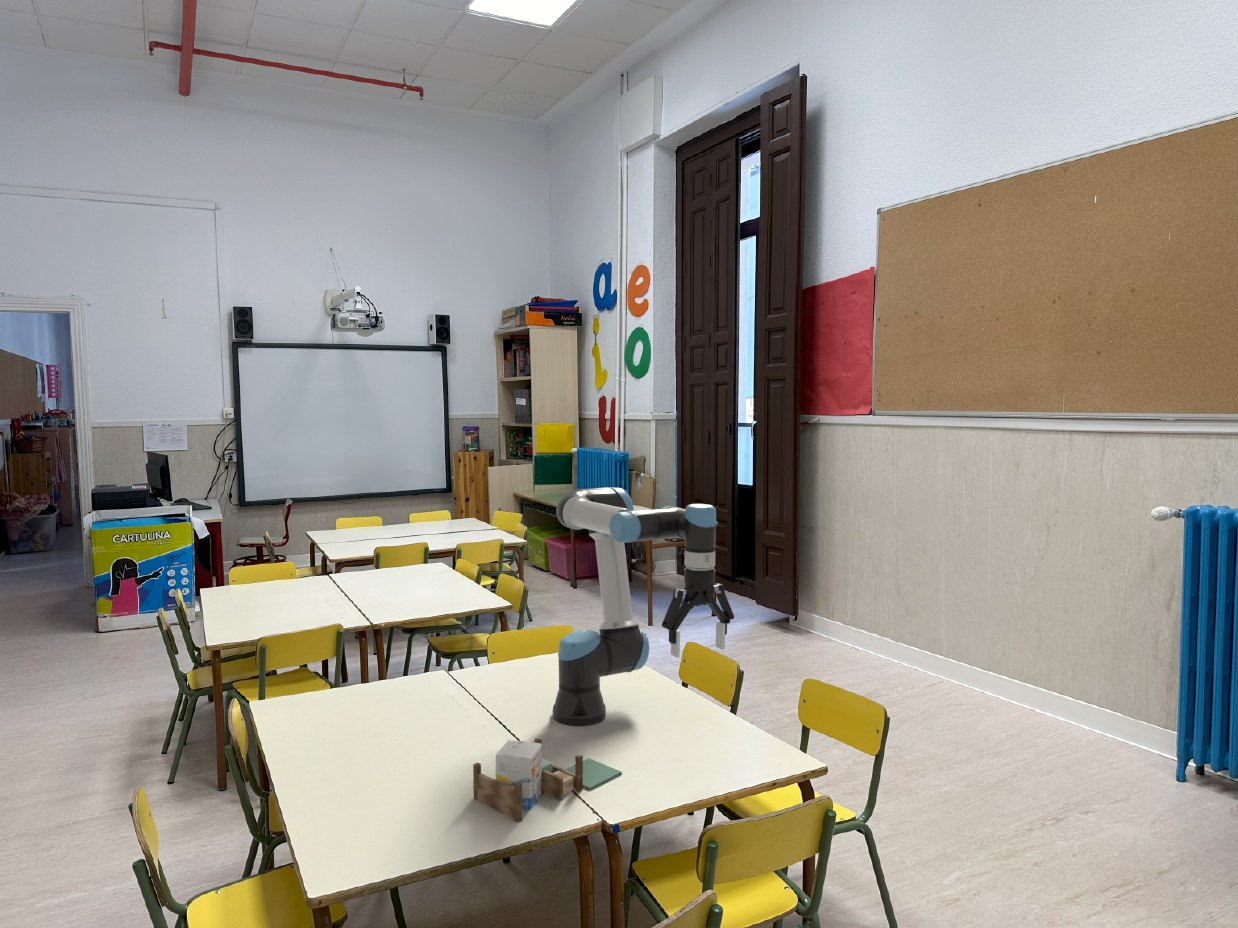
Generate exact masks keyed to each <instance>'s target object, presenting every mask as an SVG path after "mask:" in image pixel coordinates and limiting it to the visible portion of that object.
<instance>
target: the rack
mask: <svg viewBox="0 0 1238 928" xmlns="http://www.w3.org/2000/svg"><path fill="white" fill-rule="evenodd" d="M542 742H543V740H542V738H540V737H536V738H534V743H541V744H542V745H543V743H542ZM574 757H575V758H574V760H575V761H574V762H575V763H574V765H575V774H574V773H571V772H569V771H567V770H565V769H566V768H562V767H559V766H558V765H555V764H554V763H552V772H553V773H554V772H556V771H561V772H563V773H565V774H568V775H570V776H572V777H574V790H575V791H578V792H581V791H583V789H584V788H583V761H584V756H583V755H582V754H579V753H578V754H576V755H575V756H574ZM472 769H473V770H472V771H473V775H472V776H473V781H472V782H473V800H475V801H478V802H479V803H482V804H484V805H486V806H487V807H489V808H490V809H493V810H494V811H496V812H498V813H501V814H502V815H503V816H506V817H508V818H510V819H512V820H514V821H515V822H517V823H519V822H521V821H523V809H522V783H520V782H517V783H514V789H513V788H511V787H509V786H507V785H505V784H503V783H500V782H498V781H496V780H495V779H494V778H492V777H490V776H488V775H486V774H484V773H482V764H481V763H480V762H476V763H473V765H472ZM553 773H551V772H549V771H547V770H544V769H542V792H541V793H543V794H545V795H547V796H549V797H551V798H554V799H556V800H557V801H558V800H559V801H560V802H561V801H562V800H564V795H563V778H562V777H560V776H558V775H556V774H553Z"/></svg>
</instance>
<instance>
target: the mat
mask: <svg viewBox="0 0 1238 928" xmlns="http://www.w3.org/2000/svg"><path fill="white" fill-rule="evenodd" d="M564 769H565V770H567V771H569V772H571V773H574V774H575V764H573V765H571V766H569V767H567V768H564ZM622 774H623V771H621V770H619V769H616V768H614V767H611V766H608V765H606V764H604V763H602V762H599V761H596V760H594V759H591V758H586V759H583V789H586V790H588V791H591V790H593V789H595V788H597V787H599V786H601V785H603V784H605V783H608V782H610V781H611V780H613V779H615V778H617V777H619V776H621V775H622Z"/></svg>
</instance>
